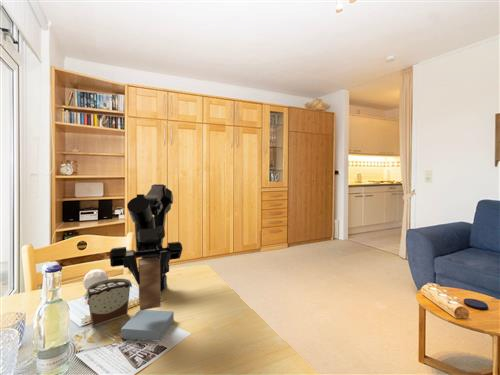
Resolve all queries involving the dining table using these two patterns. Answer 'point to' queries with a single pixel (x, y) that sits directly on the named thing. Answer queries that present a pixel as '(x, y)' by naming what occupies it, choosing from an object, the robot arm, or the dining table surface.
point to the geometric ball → (94, 277)
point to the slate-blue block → (147, 325)
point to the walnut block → (149, 283)
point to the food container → (108, 300)
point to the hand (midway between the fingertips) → (149, 282)
